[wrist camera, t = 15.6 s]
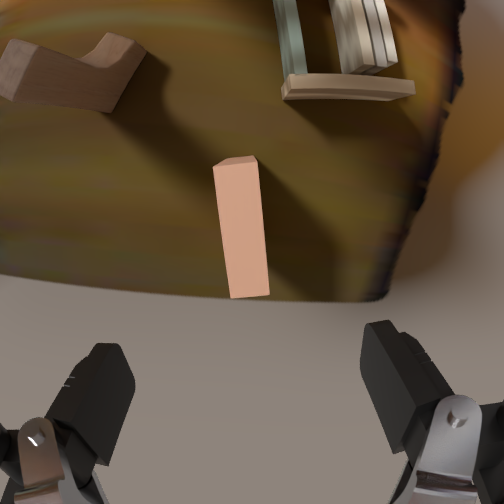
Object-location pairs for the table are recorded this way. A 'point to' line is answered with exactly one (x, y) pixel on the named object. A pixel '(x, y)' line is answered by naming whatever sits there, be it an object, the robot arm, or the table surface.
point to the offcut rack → (342, 54)
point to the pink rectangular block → (242, 226)
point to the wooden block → (69, 74)
